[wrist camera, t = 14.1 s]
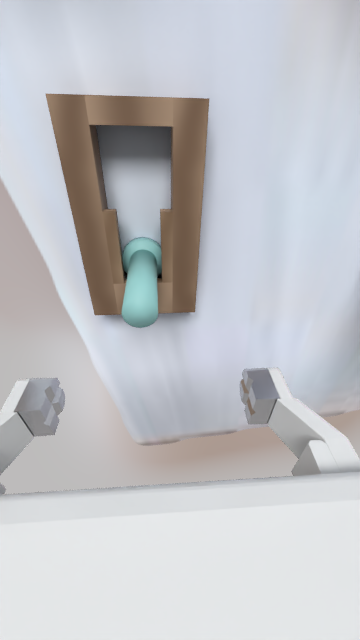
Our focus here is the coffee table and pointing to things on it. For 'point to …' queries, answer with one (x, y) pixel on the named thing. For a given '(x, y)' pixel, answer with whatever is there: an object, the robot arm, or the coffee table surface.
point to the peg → (141, 281)
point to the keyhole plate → (101, 223)
